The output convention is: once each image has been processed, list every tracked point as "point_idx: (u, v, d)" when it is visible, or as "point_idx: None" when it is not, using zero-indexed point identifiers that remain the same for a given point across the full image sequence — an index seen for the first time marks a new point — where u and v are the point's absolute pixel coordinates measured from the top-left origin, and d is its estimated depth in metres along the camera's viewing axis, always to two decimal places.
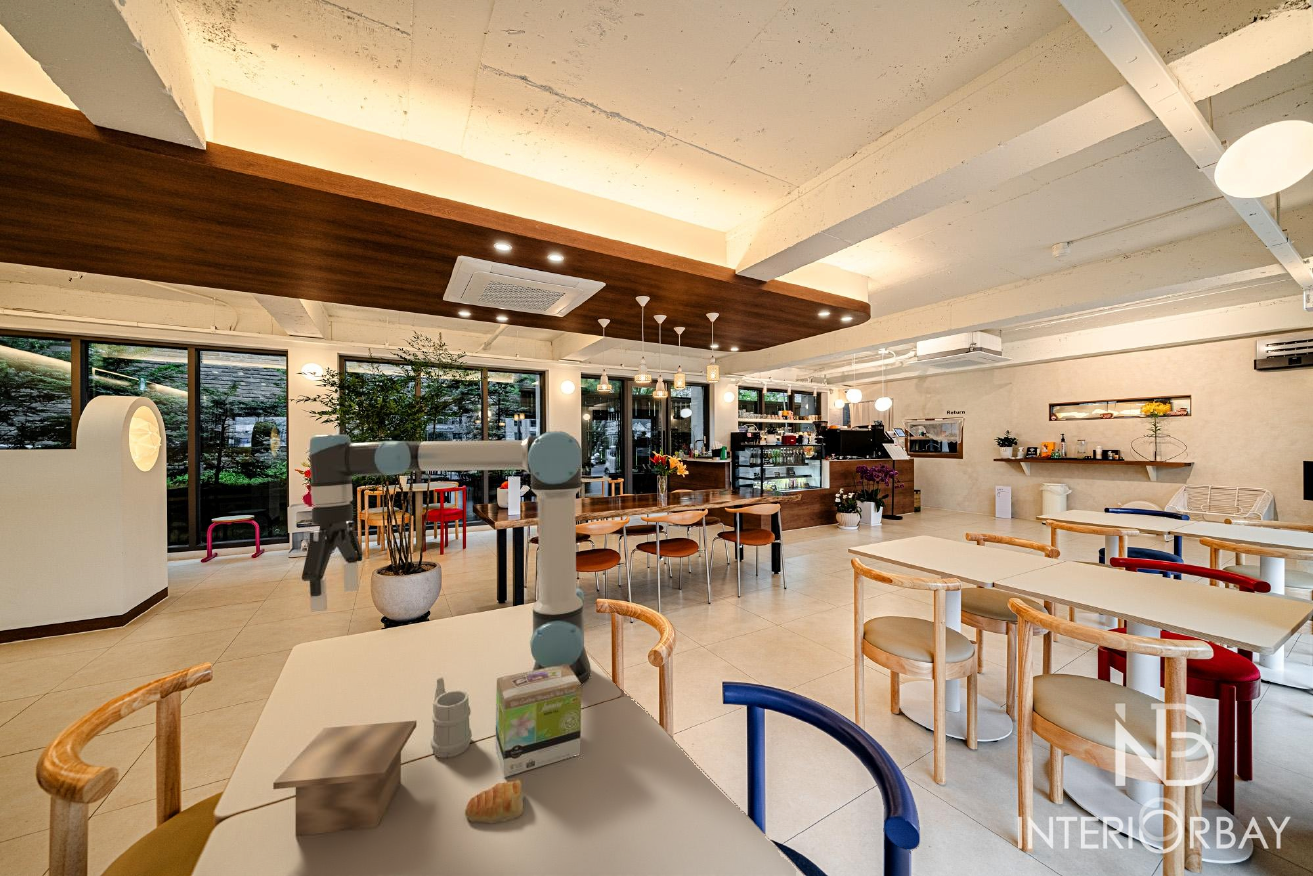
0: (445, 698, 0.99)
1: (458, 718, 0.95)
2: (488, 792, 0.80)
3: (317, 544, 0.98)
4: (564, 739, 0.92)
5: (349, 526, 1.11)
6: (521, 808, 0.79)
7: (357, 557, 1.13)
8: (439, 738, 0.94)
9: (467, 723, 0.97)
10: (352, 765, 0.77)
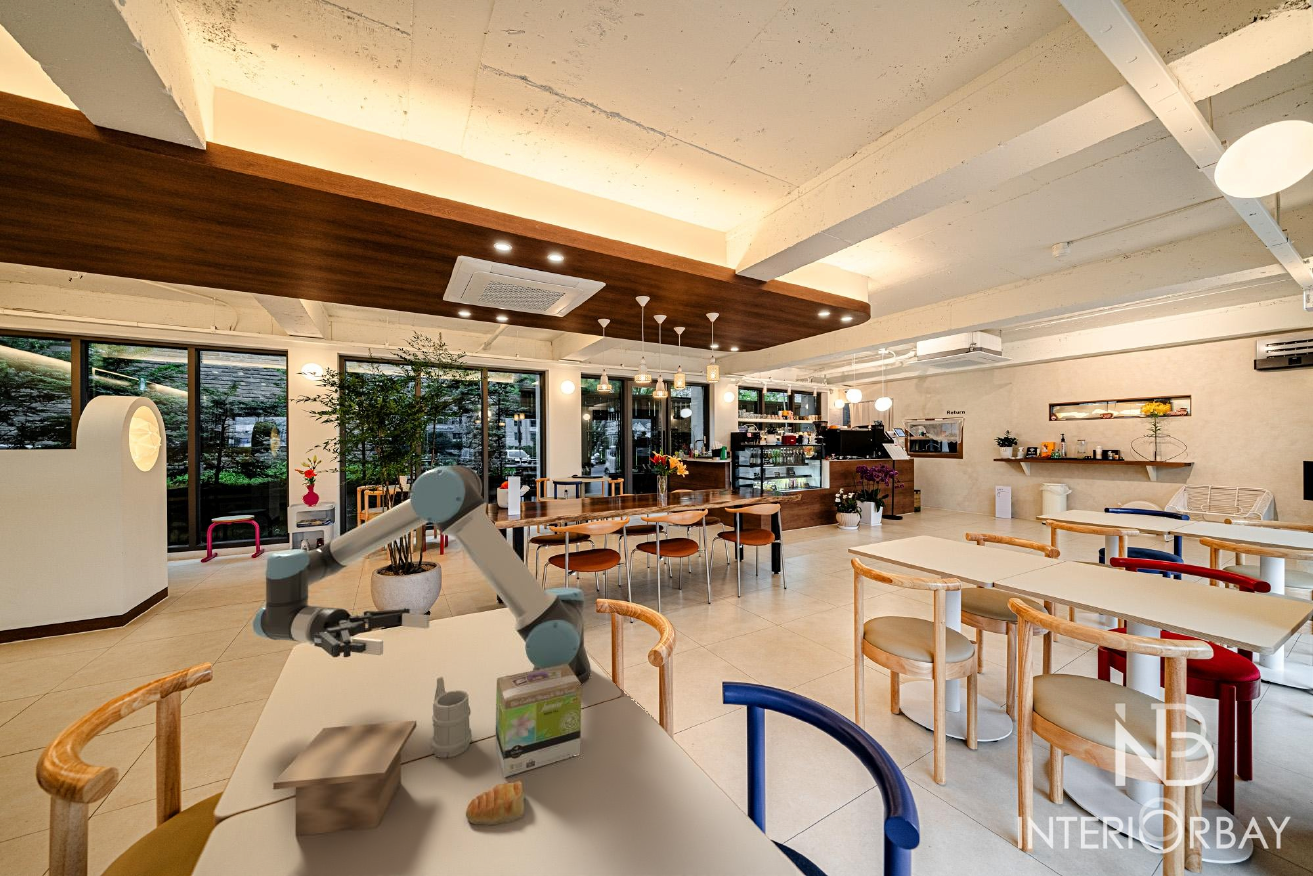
0: (445, 698, 0.99)
1: (458, 718, 0.95)
2: (489, 793, 0.80)
3: (321, 640, 0.96)
4: (564, 739, 0.92)
5: (366, 615, 1.09)
6: (522, 809, 0.79)
7: (401, 612, 1.09)
8: (439, 738, 0.94)
9: (467, 723, 0.97)
10: (352, 765, 0.77)
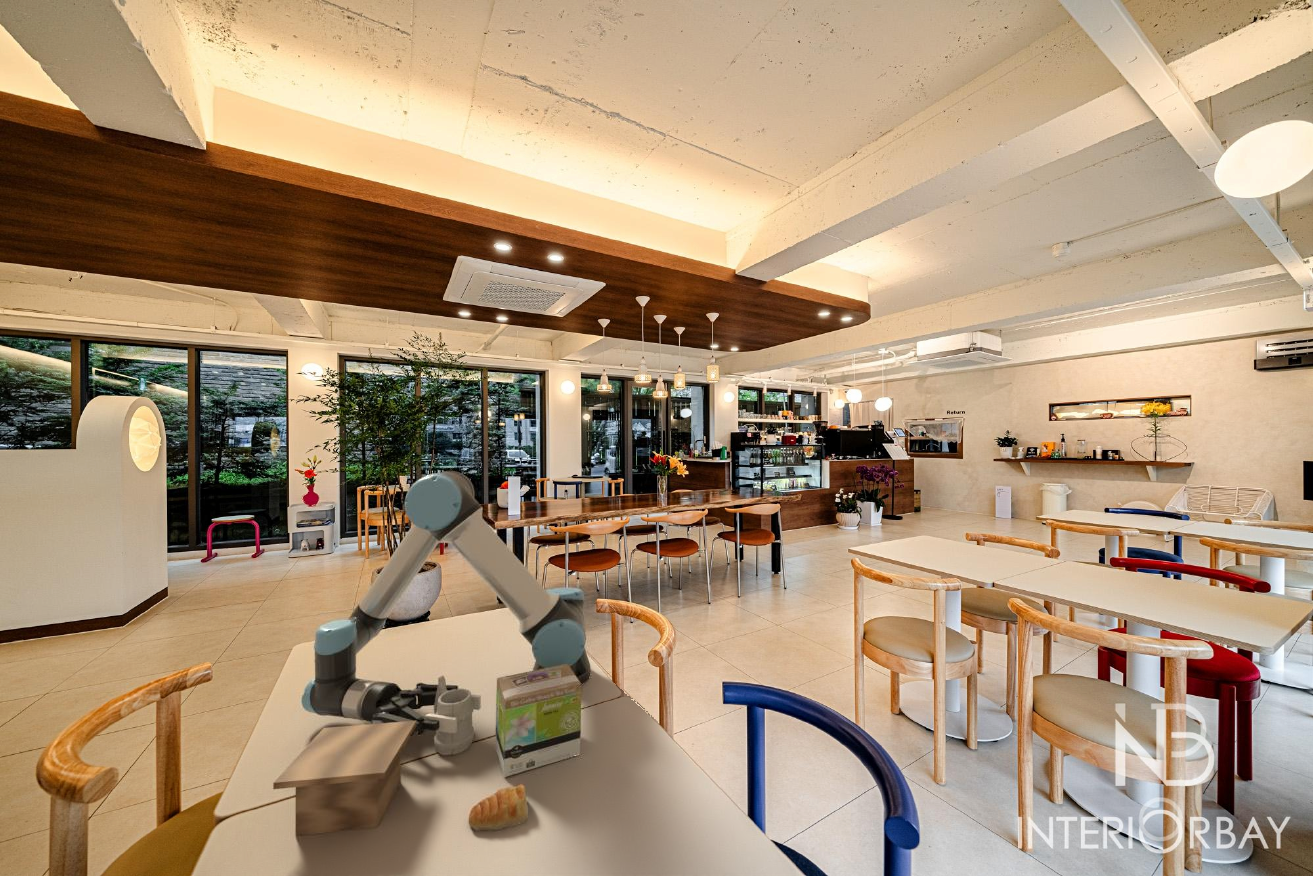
0: (447, 696, 0.99)
1: (462, 715, 0.95)
2: (491, 799, 0.79)
3: (384, 721, 0.94)
4: (564, 739, 0.92)
5: None
6: (527, 812, 0.78)
7: None
8: (443, 736, 0.94)
9: (470, 720, 0.98)
10: (352, 765, 0.77)
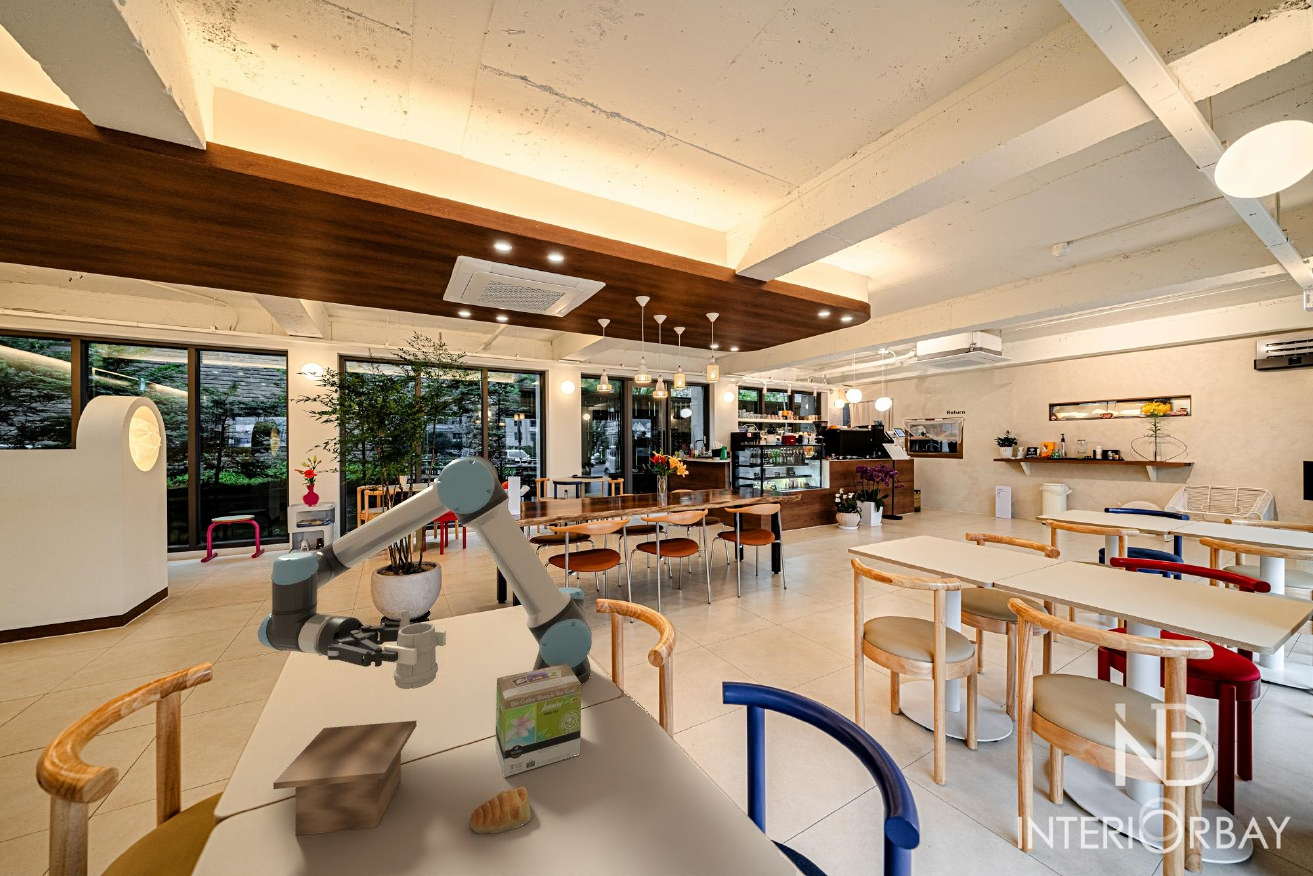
0: (410, 630, 0.93)
1: (423, 647, 0.89)
2: (493, 801, 0.78)
3: (340, 651, 0.88)
4: (564, 739, 0.92)
5: None
6: (529, 814, 0.78)
7: None
8: (403, 669, 0.88)
9: (433, 655, 0.92)
10: (352, 765, 0.77)
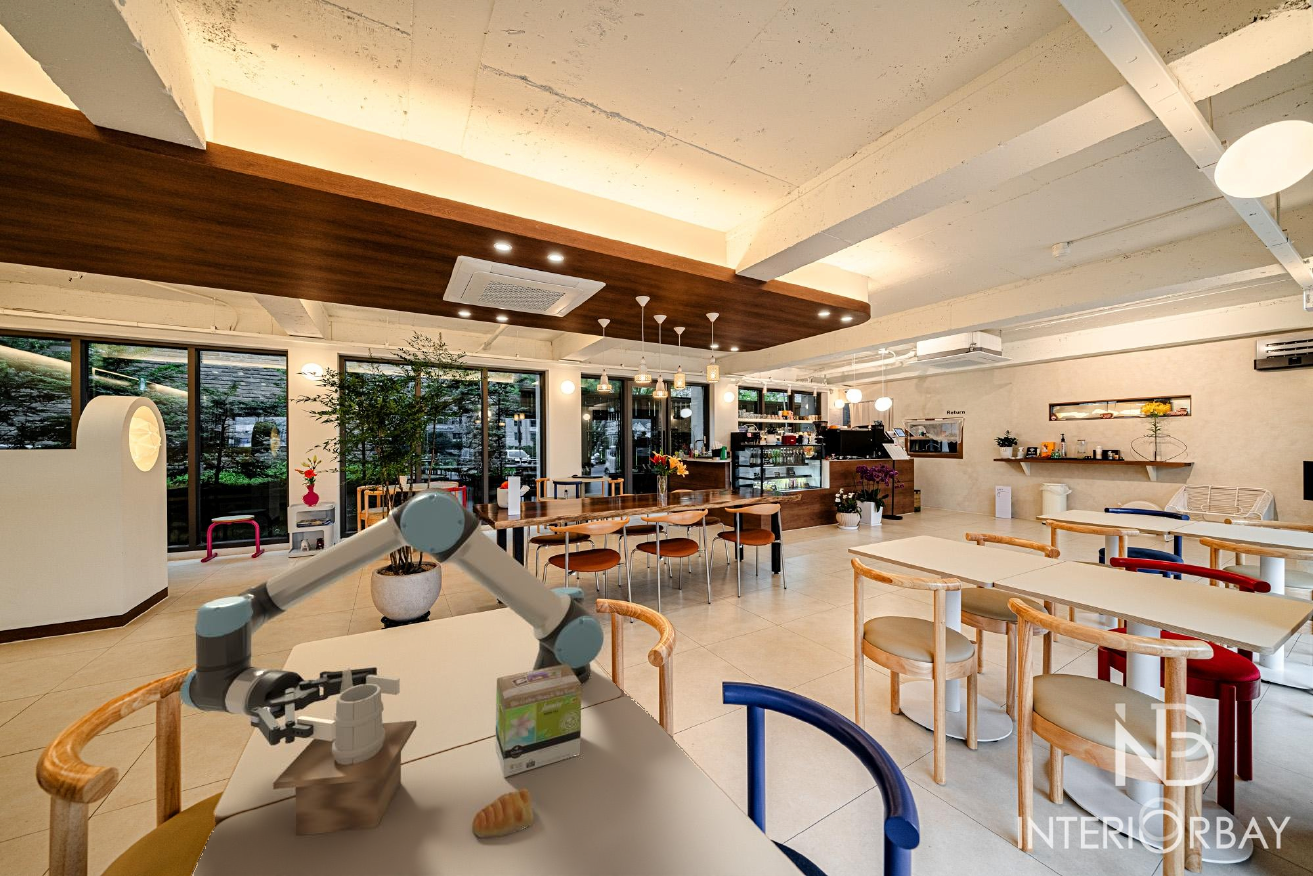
0: (352, 693, 0.82)
1: (366, 715, 0.78)
2: (495, 805, 0.78)
3: (259, 719, 0.76)
4: (564, 739, 0.92)
5: (323, 677, 0.89)
6: (532, 816, 0.77)
7: (366, 673, 0.89)
8: (342, 742, 0.77)
9: (379, 722, 0.80)
10: (352, 765, 0.77)
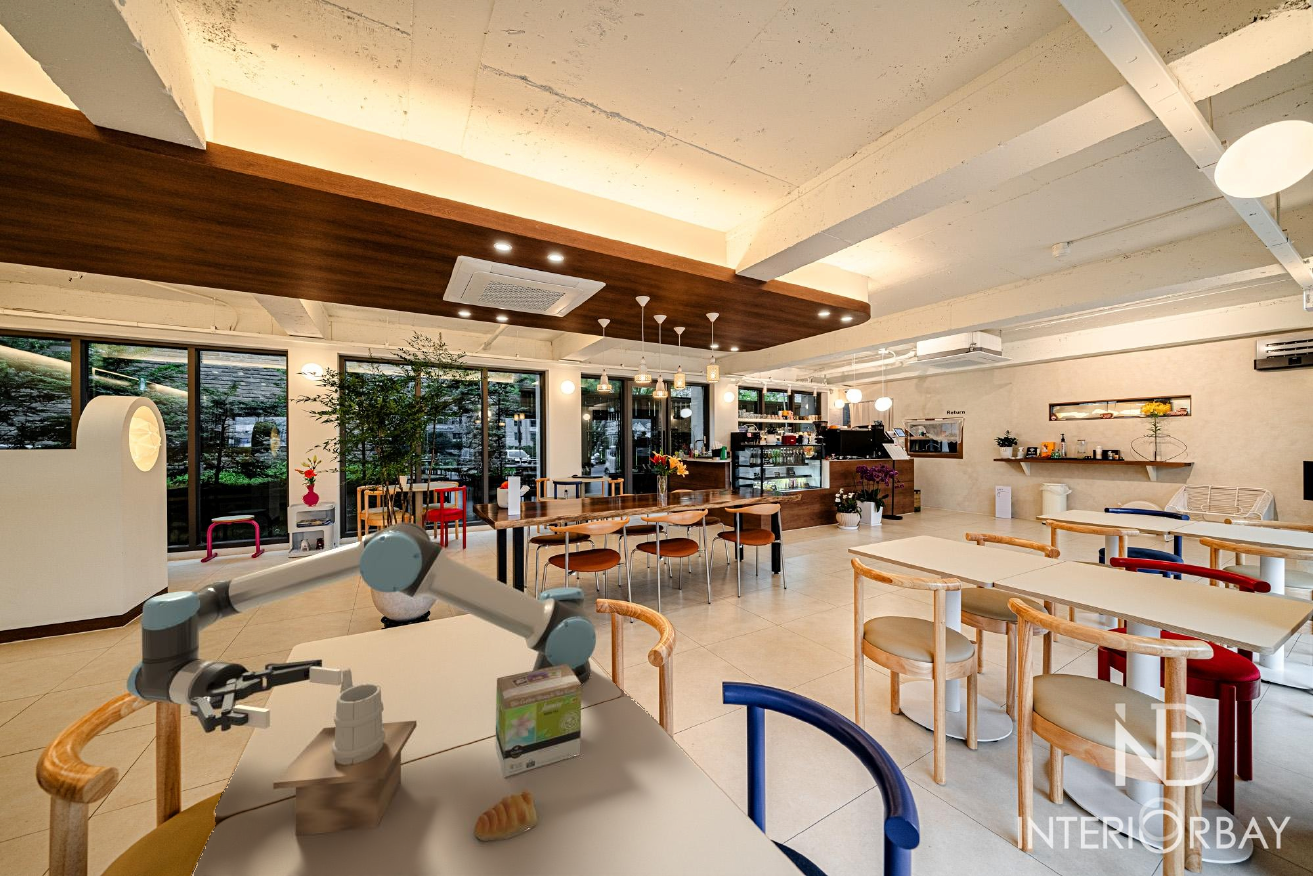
0: (352, 693, 0.82)
1: (366, 715, 0.78)
2: (497, 808, 0.77)
3: (198, 708, 0.79)
4: (564, 739, 0.92)
5: None
6: (535, 818, 0.77)
7: (310, 665, 0.92)
8: (342, 742, 0.77)
9: (379, 722, 0.80)
10: (352, 765, 0.77)
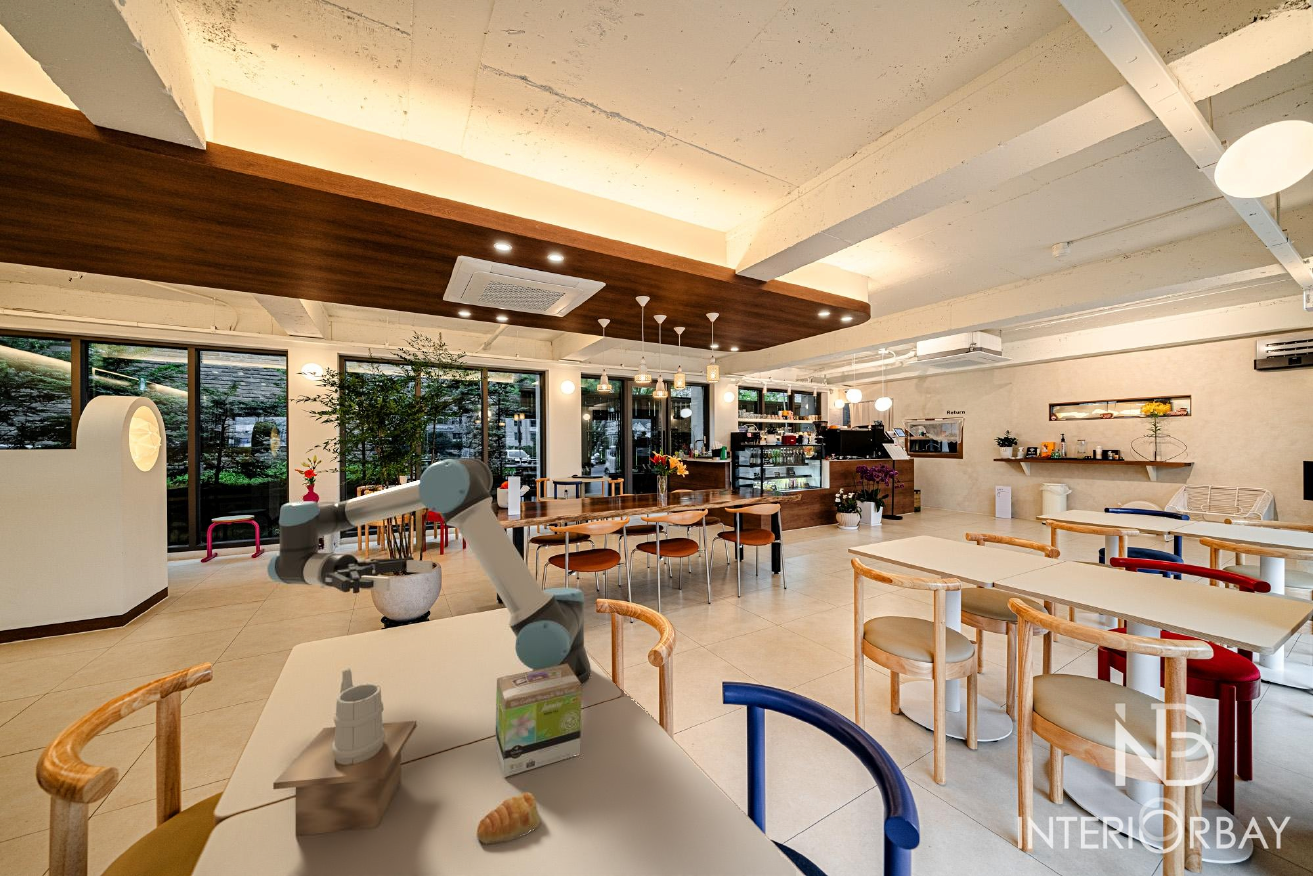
0: (352, 693, 0.82)
1: (366, 715, 0.78)
2: (500, 810, 0.76)
3: (332, 578, 1.03)
4: (564, 739, 0.92)
5: None
6: (538, 819, 0.77)
7: (406, 559, 1.17)
8: (342, 742, 0.77)
9: (379, 722, 0.80)
10: (352, 765, 0.77)
